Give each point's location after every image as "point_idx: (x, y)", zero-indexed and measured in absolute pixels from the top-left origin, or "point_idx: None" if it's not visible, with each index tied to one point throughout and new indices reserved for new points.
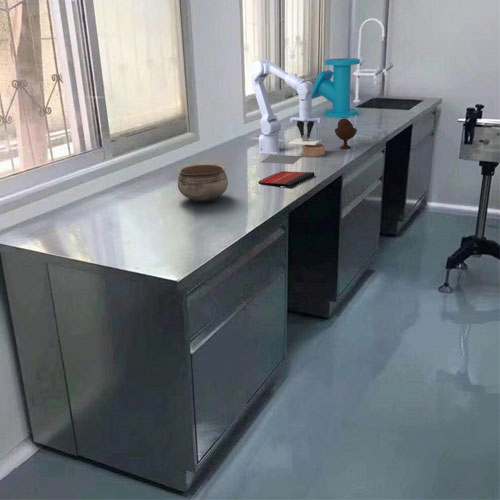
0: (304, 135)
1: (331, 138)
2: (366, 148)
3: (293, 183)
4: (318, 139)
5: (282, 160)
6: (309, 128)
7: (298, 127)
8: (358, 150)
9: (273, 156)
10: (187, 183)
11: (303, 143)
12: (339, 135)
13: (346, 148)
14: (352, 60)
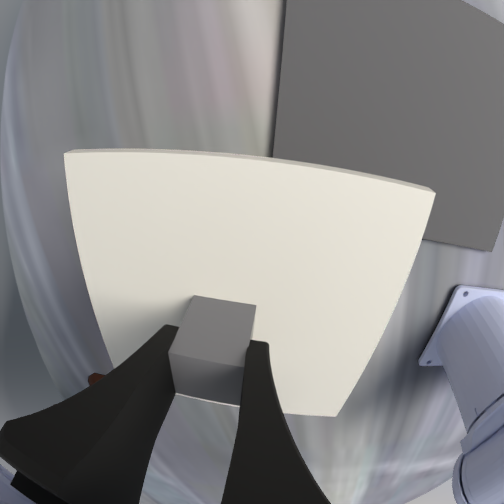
0: (213, 356)
1: (213, 476)
2: (49, 369)
3: None
4: None
5: (410, 57)
6: (76, 407)
7: (302, 474)
8: (52, 349)
9: (483, 198)
10: None
11: (206, 155)
12: None
13: (94, 376)
14: None
